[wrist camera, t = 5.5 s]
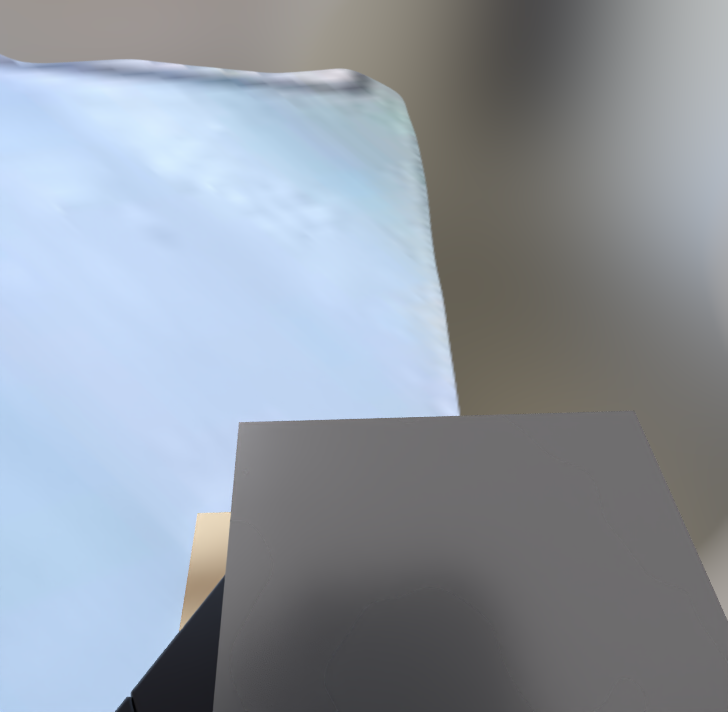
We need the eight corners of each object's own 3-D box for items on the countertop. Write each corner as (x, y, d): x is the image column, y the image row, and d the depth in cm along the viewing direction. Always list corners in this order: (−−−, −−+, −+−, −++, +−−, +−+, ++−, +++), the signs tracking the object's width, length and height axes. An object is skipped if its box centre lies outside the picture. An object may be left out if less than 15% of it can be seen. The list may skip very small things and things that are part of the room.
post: (440, 686, 12) (943, 1107, 2) (289, 705, 11) (152, 1360, 2) (419, 526, 14) (634, 410, 5) (292, 534, 13) (238, 422, 4)
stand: (469, 704, 18) (502, 730, 15) (167, 732, 16) (132, 768, 13) (442, 507, 22) (463, 495, 19) (200, 515, 20) (180, 502, 17)
